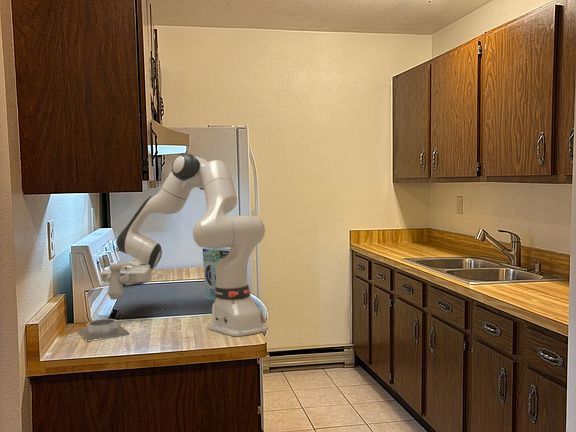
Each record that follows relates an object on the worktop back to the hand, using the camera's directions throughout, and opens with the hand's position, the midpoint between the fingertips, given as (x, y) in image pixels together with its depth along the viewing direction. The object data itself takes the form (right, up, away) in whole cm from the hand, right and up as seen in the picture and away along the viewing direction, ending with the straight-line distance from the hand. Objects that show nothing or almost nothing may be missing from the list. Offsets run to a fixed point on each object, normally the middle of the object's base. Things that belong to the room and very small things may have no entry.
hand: (114, 279), depth 205 cm
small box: (-16, -12, +80) cm, 83 cm away
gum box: (+36, -13, +34) cm, 51 cm away
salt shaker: (0, -7, +1) cm, 8 cm away
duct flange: (-1, -18, -10) cm, 20 cm away
